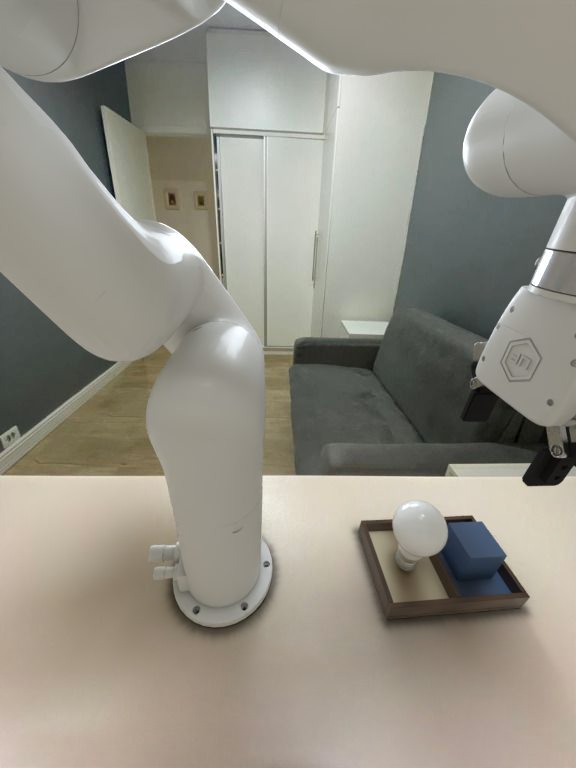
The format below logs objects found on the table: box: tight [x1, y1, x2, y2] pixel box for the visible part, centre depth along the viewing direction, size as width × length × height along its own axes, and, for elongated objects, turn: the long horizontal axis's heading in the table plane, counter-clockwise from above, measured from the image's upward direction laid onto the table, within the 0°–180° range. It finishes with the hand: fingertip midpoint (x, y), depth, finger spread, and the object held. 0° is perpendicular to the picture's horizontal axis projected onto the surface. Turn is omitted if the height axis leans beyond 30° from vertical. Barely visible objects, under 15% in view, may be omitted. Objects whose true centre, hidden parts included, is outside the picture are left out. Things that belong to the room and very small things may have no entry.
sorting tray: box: [357, 515, 531, 620], centre depth 42 cm, size 18×12×3 cm, turn 96°
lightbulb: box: [392, 499, 448, 571], centre depth 39 cm, size 6×6×11 cm
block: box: [441, 520, 508, 580], centre depth 42 cm, size 5×5×5 cm
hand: (501, 447), depth 32 cm, fingers open, 9 cm apart
